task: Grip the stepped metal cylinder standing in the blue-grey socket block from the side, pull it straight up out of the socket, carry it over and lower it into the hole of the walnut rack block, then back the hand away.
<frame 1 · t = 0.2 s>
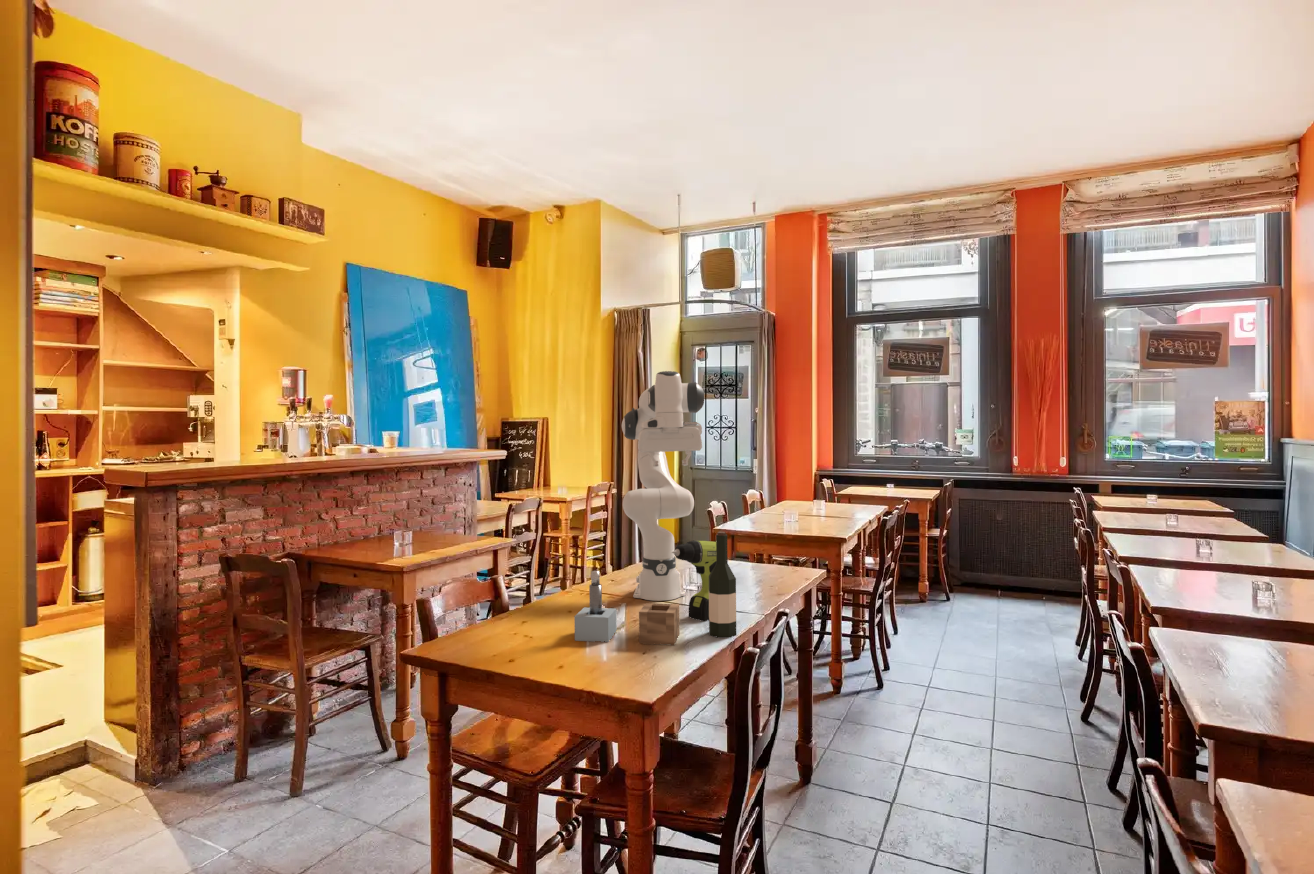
hand: (670, 466, 223), 49 cm above the table, tool pointing down, fingers open, 8 cm apart
wine bottle: (722, 634, 208), on the table
stepped metal cylinder: (596, 625, 207), point 3 cm above the table, touching socket block
socket block: (596, 636, 207), on the table
cordless drill: (698, 619, 224), on the table
rack block: (659, 638, 204), on the table
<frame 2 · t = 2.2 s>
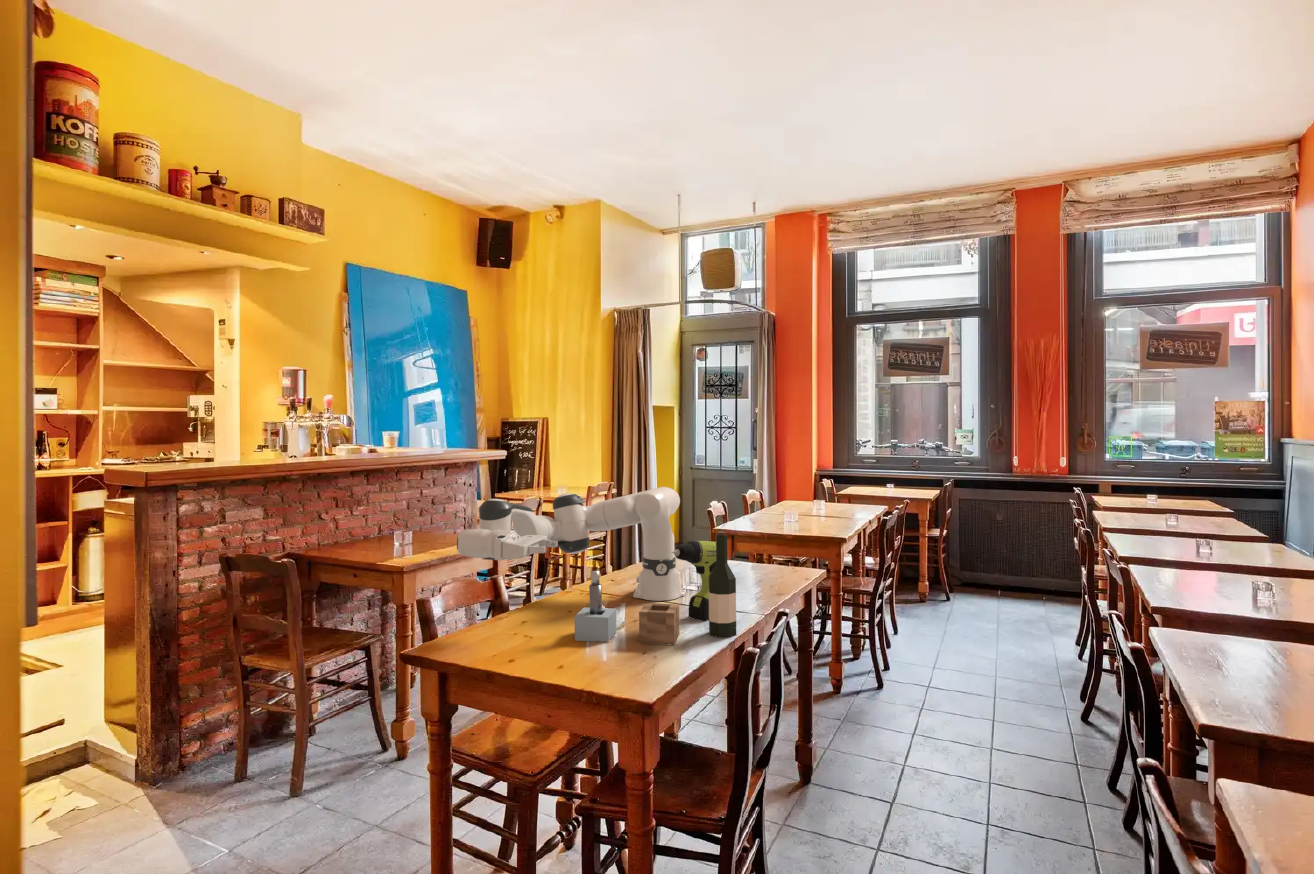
hand: (551, 547, 210), 26 cm above the table, tool horizontal, fingers open, 8 cm apart
nothing on the table moved.
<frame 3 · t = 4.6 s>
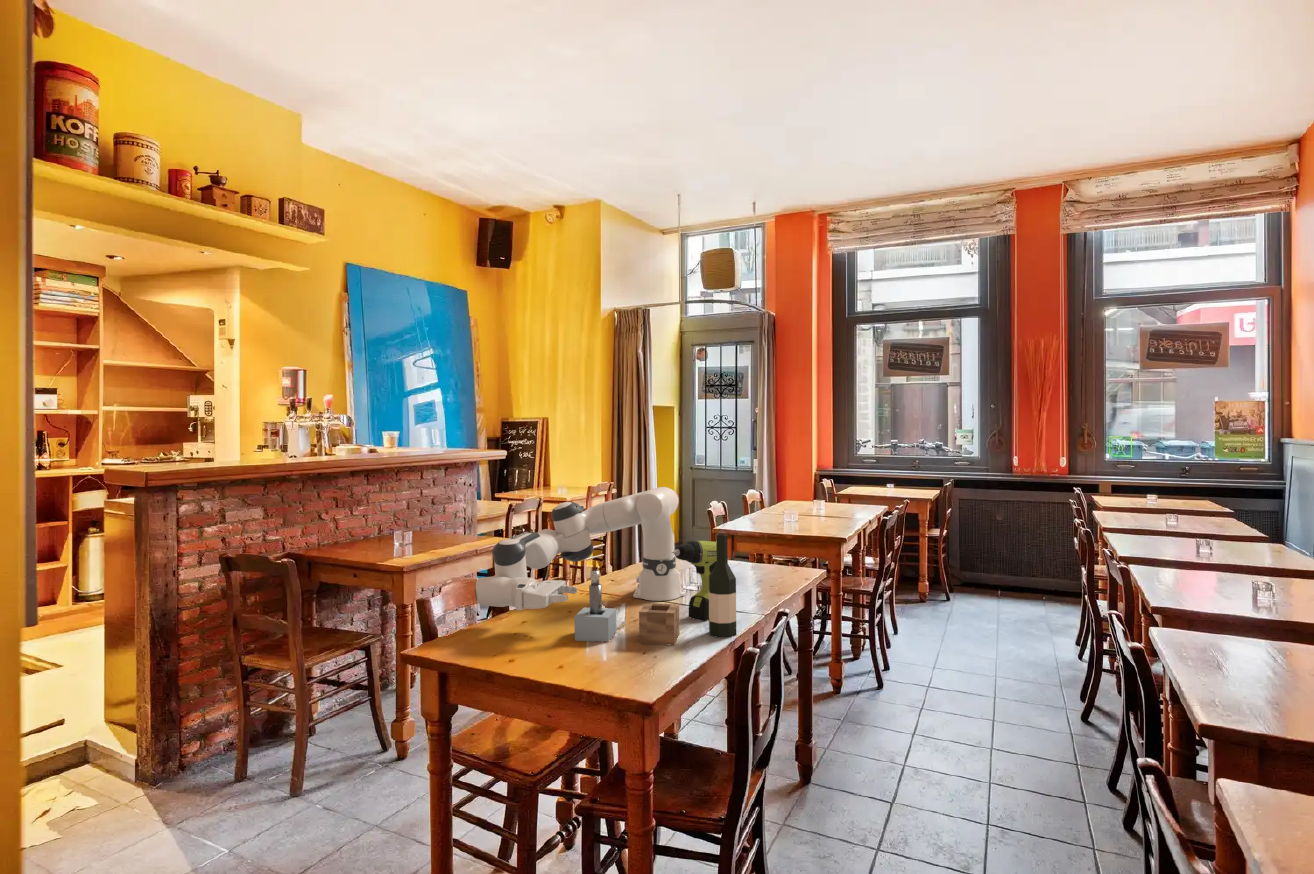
hand: (571, 594, 208), 12 cm above the table, tool horizontal, fingers open, 8 cm apart
nothing on the table moved.
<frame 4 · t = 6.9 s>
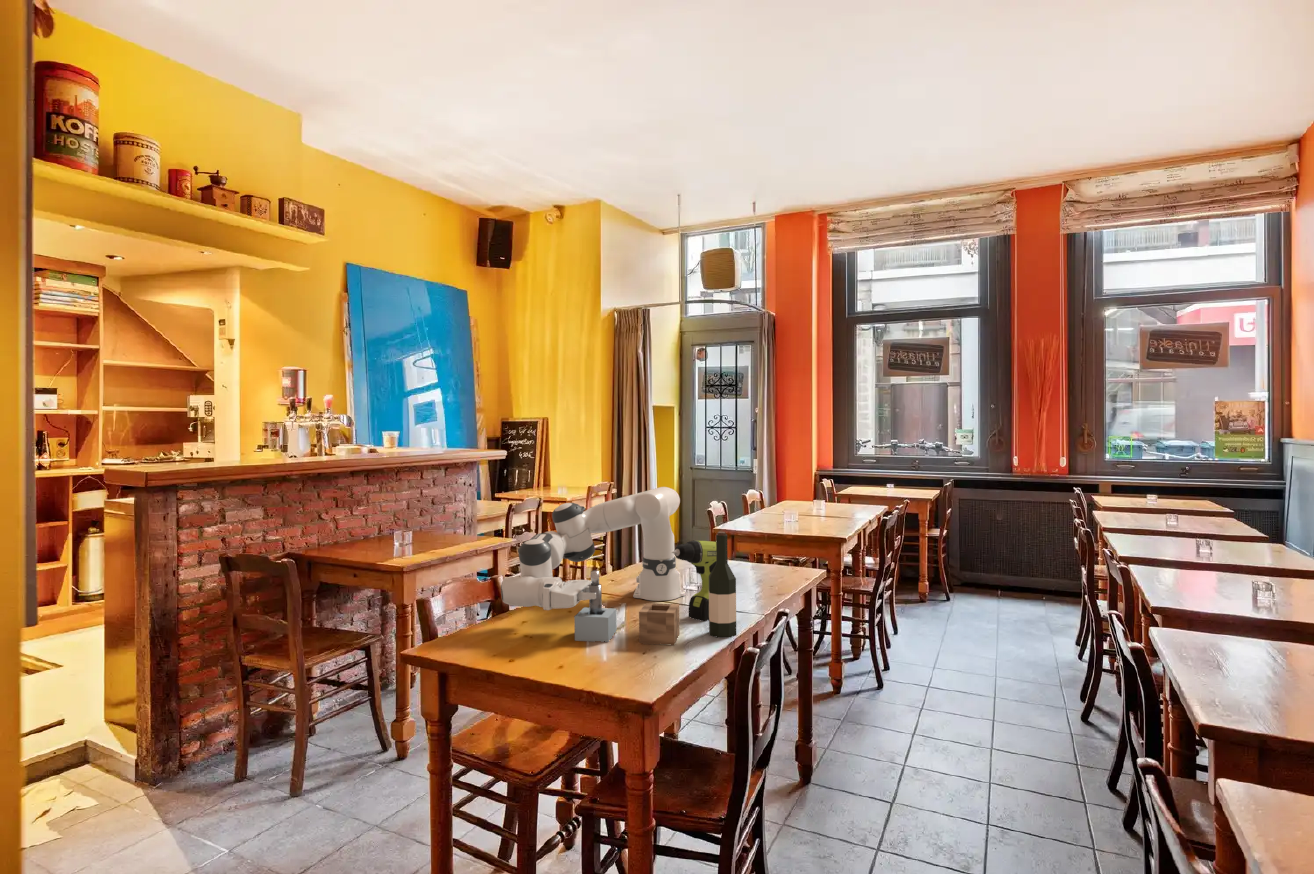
hand: (598, 593, 207), 13 cm above the table, tool horizontal, fingers closed on stepped metal cylinder, 4 cm apart
stepped metal cylinder: (596, 625, 207), point 3 cm above the table, touching gripper, socket block
everything else where it was.
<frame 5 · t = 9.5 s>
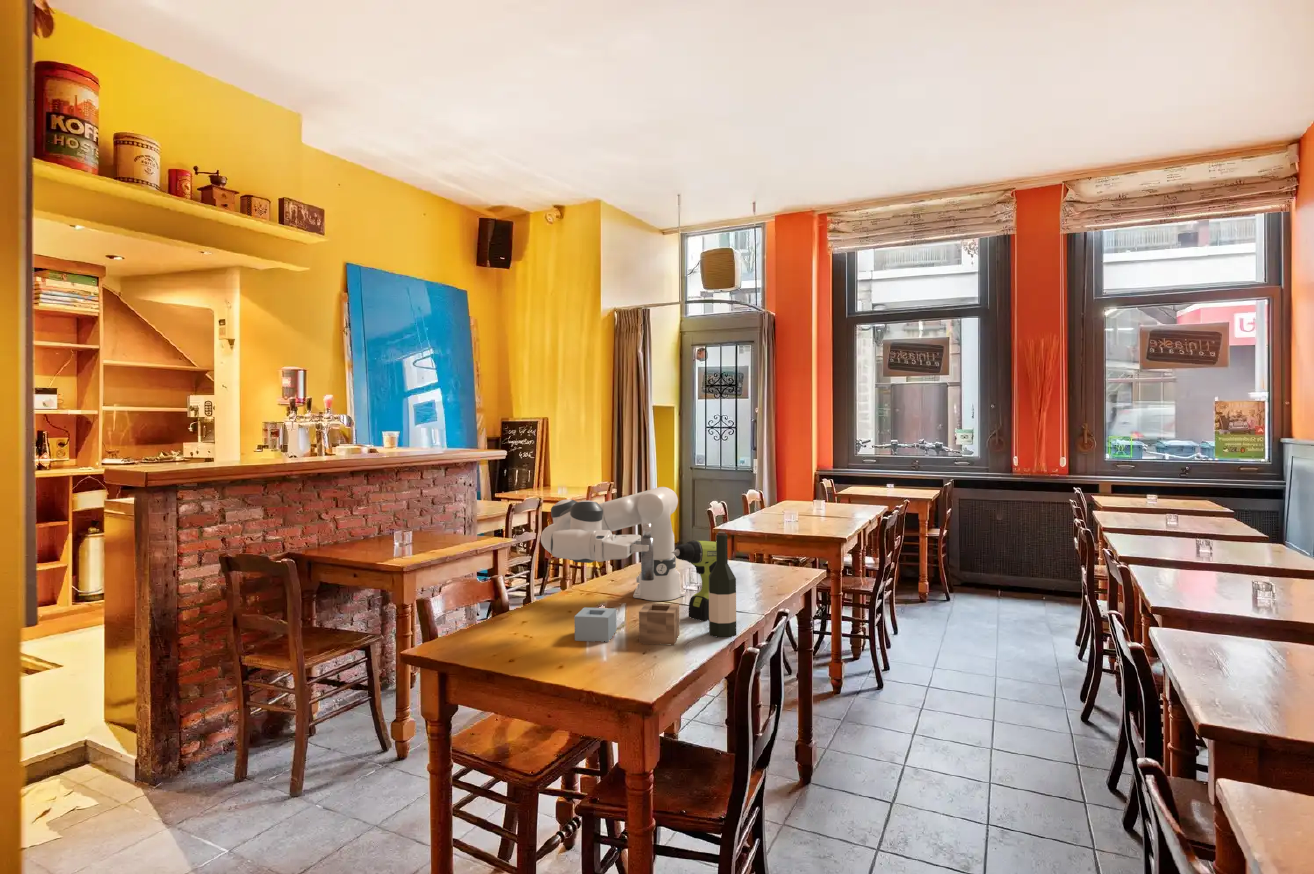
hand: (650, 546, 203), 27 cm above the table, tool horizontal, fingers closed on stepped metal cylinder, 4 cm apart
stepped metal cylinder: (647, 579, 203), point 17 cm above the table, touching gripper
everything else where it was.
when the fingers open (15 cm above the table, at t = 12.4 s): stepped metal cylinder drops 2 cm, resting on rack block.
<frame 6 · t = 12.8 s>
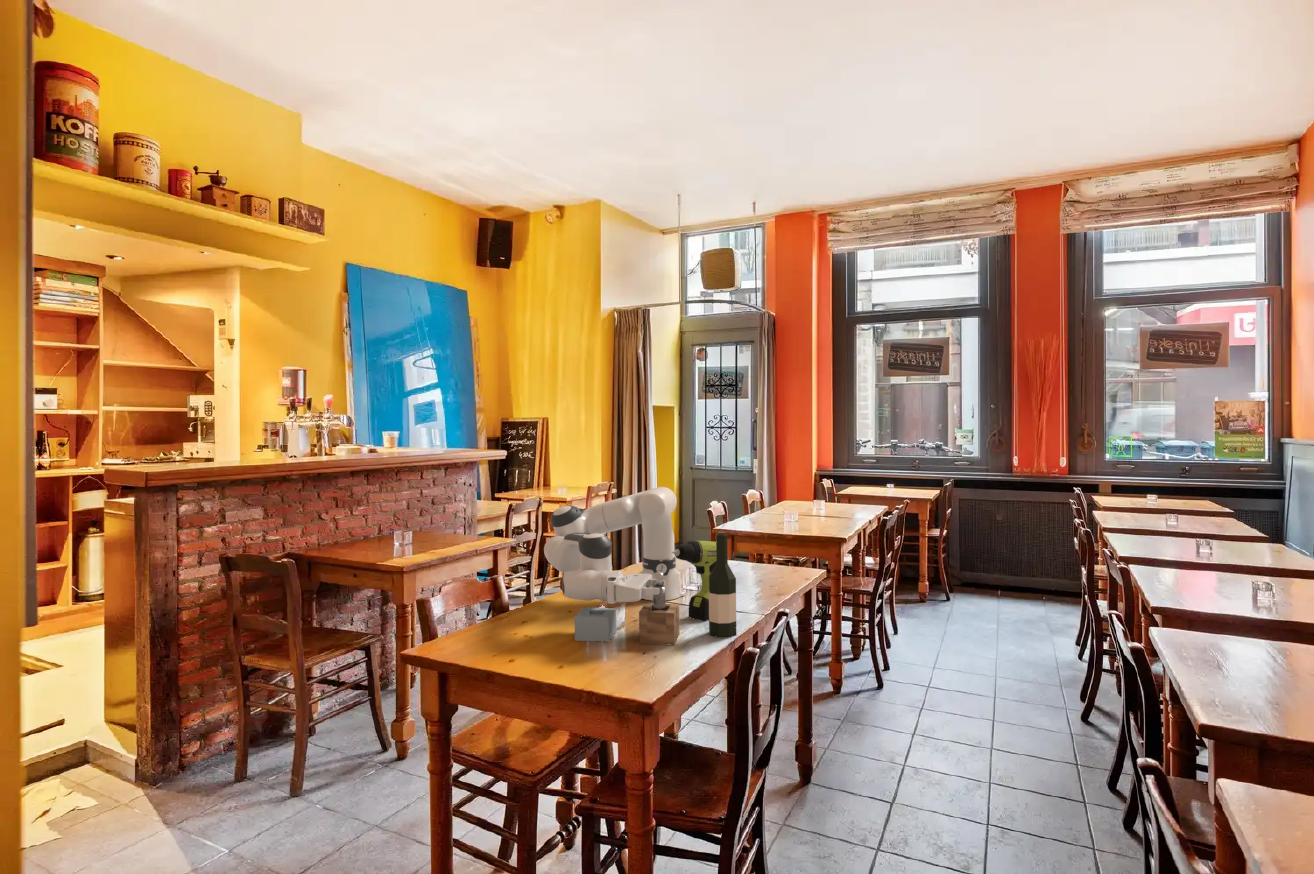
hand: (662, 587, 203), 15 cm above the table, tool horizontal, fingers open, 7 cm apart
stepped metal cylinder: (659, 628, 204), point 3 cm above the table, touching rack block
everything else where it was.
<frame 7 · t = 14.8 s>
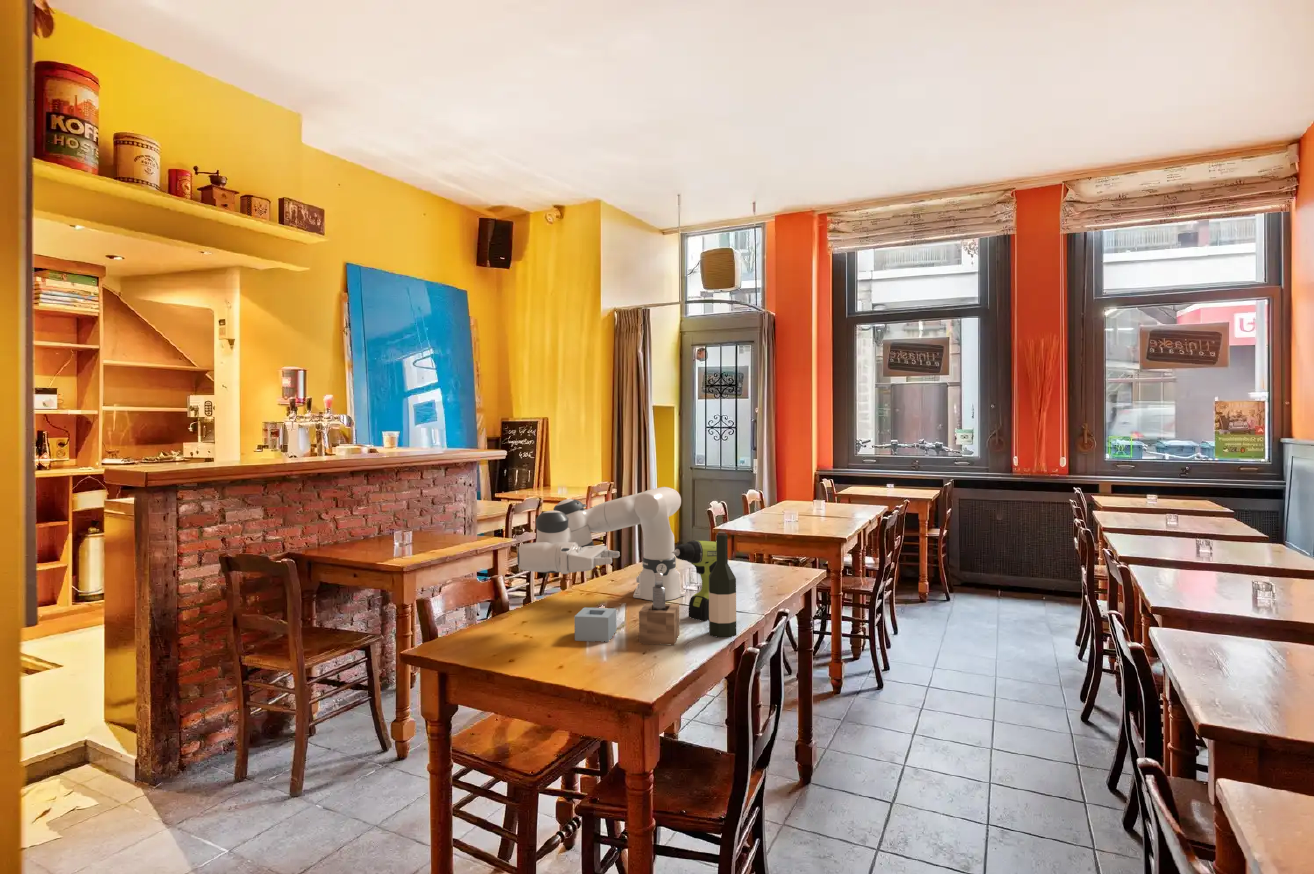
hand: (615, 557, 206), 23 cm above the table, tool horizontal, fingers open, 8 cm apart
nothing on the table moved.
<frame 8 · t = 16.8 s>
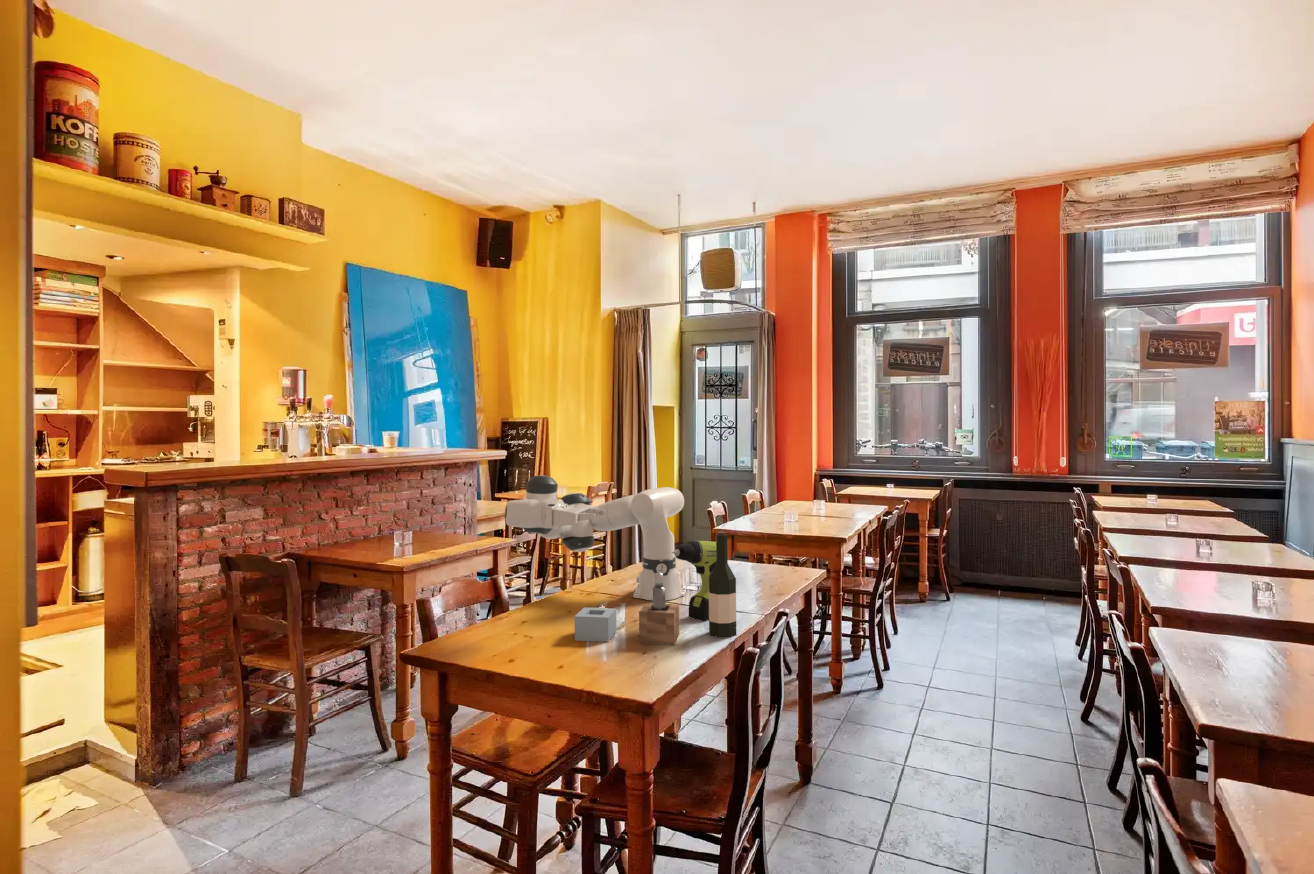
hand: (599, 514, 212), 35 cm above the table, tool horizontal, fingers open, 8 cm apart
nothing on the table moved.
at the end: stepped metal cylinder 0.1 cm off-centre on the rack block, point 3.0 cm above the rack block's base; stepped metal cylinder tilted 1°; the gripper is holding nothing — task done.
